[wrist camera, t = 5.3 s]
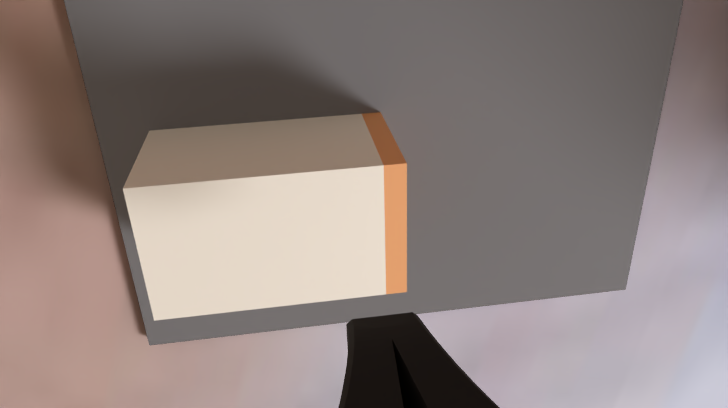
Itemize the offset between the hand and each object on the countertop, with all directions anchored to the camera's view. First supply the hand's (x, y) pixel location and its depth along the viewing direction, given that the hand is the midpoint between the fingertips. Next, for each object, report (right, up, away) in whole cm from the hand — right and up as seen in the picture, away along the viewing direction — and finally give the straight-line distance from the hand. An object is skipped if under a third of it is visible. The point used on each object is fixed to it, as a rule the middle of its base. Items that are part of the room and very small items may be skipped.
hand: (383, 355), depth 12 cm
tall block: (+1, +3, +6) cm, 7 cm away
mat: (+1, +4, +8) cm, 9 cm away
